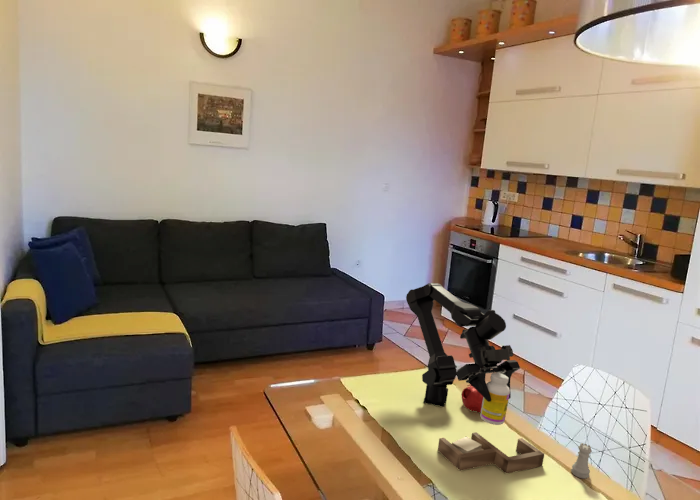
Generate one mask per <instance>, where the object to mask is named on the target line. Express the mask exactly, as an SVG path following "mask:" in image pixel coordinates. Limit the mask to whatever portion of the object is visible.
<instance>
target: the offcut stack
mask: <svg viewBox="0 0 700 500" xmlns="http://www.w3.org/2000/svg"><path fill="white" fill-rule="evenodd" d="M451 444H452V445H453V446H455V447H456V448H457V449H458V450H459V451H460V452H462V453H463V454H464V453H470V452H475V451H481V450H484V449H482V448H481V447H482V445H481V444H479V443H477V442H476V441H474V440H472V439H471V437H469V436H464V437H462V438H459V439H456V440H455V441H452V442H451Z"/></svg>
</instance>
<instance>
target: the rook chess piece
mask: <svg viewBox="0 0 700 500" xmlns="http://www.w3.org/2000/svg"><path fill="white" fill-rule="evenodd" d="M577 449H578V450H579V451H578V452H577V455H578V456H577V458H576V461H575V462H574V463H573V464H572V465H571V469H570V471H571V474H573V475H574V477H577V478H579V479H583V480H585V479H588V478H589V477H590V473H591V471H590V467H589V458H590V454H591V453H593V452H592V447H591V445H589V444H588V443H583V442H581V443H580V445H579V446H578V447H577Z"/></svg>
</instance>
